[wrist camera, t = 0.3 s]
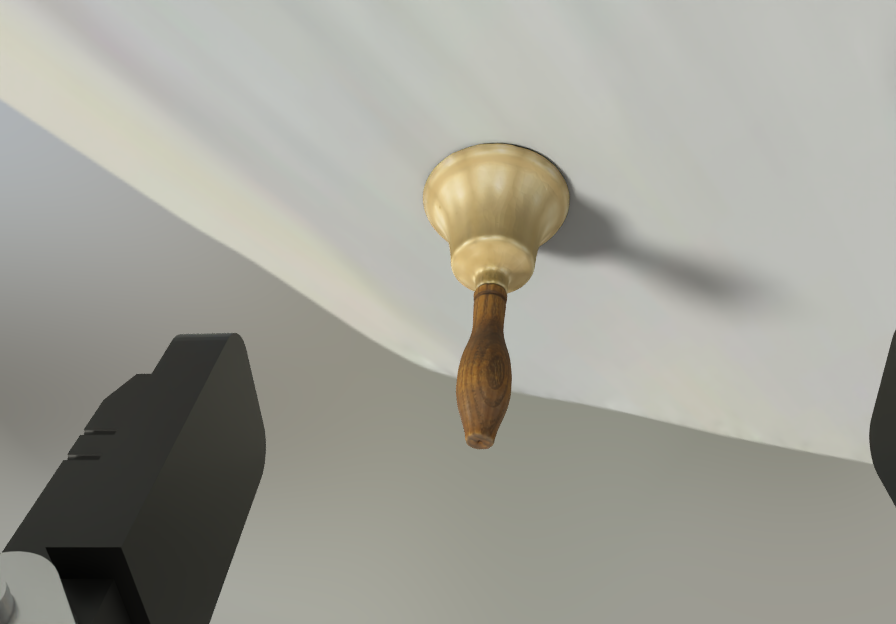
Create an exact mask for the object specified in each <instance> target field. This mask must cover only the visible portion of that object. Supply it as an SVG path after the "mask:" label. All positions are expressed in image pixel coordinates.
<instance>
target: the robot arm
mask: <svg viewBox="0 0 896 624" xmlns="http://www.w3.org/2000/svg"><path fill="white" fill-rule="evenodd" d="M84 431H85V433H84V435H80V436H79V438H78V439H77V441H76V442H75V444H74V445H73V447H72V448H71V450H70V451H69V453H68V460H63V462H62V463H61V465H60V466H59V468H58V469H57V471H56V472H55V474H54V475H53V477H52V478H51V480H50V481H49V483H48V484H47V486H46V487H45V489H44V490H43V492H42V493H41V495H40V496H39V498H38V499H37V501H36V502H35V504H34V505H33V507H32V508H31V510H30V511H29V513H28V514H27V516H26V517H25V519H24V520H23V522H22V523H21V525H20V526H19V528H18V529H17V531H16V532H15V534H14V535H13V537H12V538H11V540H10V541H9V543H8V544H7V546H6V547H5V549H4V550H3V551H2V553H0V624H209V623H210V620H211V617H212V614H213V611H214V609H215V606H216V603H217V600H218V597H219V595H220V592H221V589H222V586H223V583H224V581H225V578H226V575H227V572H228V570H229V567H230V564H231V561H232V558H233V556H234V553H235V550H236V547H237V544H238V542H239V539H240V536H241V533H242V530H243V528H244V525H245V522H246V519H247V516H248V514H249V511H250V508H251V505H252V502H253V500H254V497H255V494H256V491H257V488H258V486H259V483H260V480H261V477H262V474H263V469H264V464H265V454H266V439H265V430H264V425H263V420H262V416H261V412H260V407H259V403H258V399H257V394H256V390H255V385H254V381H253V377H252V372H251V368H250V364H249V359H248V355H247V351H246V347H245V344H244V341H243V339H242V338H241V336H240V335H239V334H237V333H222V334H221V333H217V334H180V335H177V336H176V337H175V338H174V339H173V340H172V342H171V343H170V345H169V347H168V348H167V350H166V351H165V353H164V355H163V356H162V358H161V360H160V361H159V363H158V364H157V366H156V368H155V369H154V371H153V373H152V374H136V375H135V376H134V377H132V378H131V379H130V380H129V381H127V382H126V383H125V384H123V385H122V386H121V387H120V388H118V389H117V390H116V391H115V392H113V393H112V394H111V395H109V396H108V397H107V398H106V399H104V400H103V402H102V403H101V405H100V406H99V408H98V409H97V411H96V412H95V414H94V415H93V417H92V418H91V420H90V421H89V423H88V424H87V426H86V427H85V429H84ZM869 440H870V451H871V456H872V460H873V464H874V467H875V470H876V472H877V474H878V476H879V478H880V479H881V481H882V483H883V485H884V486H885V488H886V490H887V492H888V494H889V496H890V497H891V499H892V501H893V503H894V505H895V506H896V330H895V332H894V335H893V338H892V342H891V345H890V349H889V353H888V357H887V361H886V365H885V368H884V372H883V376H882V380H881V384H880V388H879V391H878V395H877V399H876V403H875V407H874V411H873V414H872V418H871V423H870V432H869Z"/></svg>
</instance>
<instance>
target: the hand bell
mask: <svg viewBox="0 0 896 624" xmlns="http://www.w3.org/2000/svg"><path fill="white" fill-rule="evenodd" d="M569 198H570V197H569V191H568V187H567V185H566V182H565V180H564V178H563V176H562V175H561V173H560V172H559V170H558V169H557V168H556V167H555V166H554V165H553V164H552V163H551V162H549V161H548V160H547V159H546V158H544V157H543V156H541V155H539V154H537V153H535V152H533V151H531V150H528V149H525V148H522V147H517V146H514V145H509V144H498V143H496V144H479V145H475V146H471V147H468V148H465V149H462V150H460V151H457V152H455V153H453V154H451V155H449V156H448V157H447V158H445V159H444V160H443V161H442V162H440V163H439V164H438V165H437V166H436V167H435V168H434V169H433V171H432V172H431V174H430V175H429V177H428V179H427V181H426V184H425V187H424V191H423V204H424V209H425V212H426V215H427V217H428V219H429V221H430V223H431V225H432V226H433V227H434V229H435V230H436V231H437V233H438V234H439V235H440V236H441V237H442V238H444V239H445V240H446V241H447V242H449V246H450V253H451V267H452V271H453V273H454V275H455V277H456V278H457V280H458V281H459V282H460V283H461V284H463V285H464V286H465V287H467V288H468V289H470V290H473V291H475V292H474V312H473V329H472V333H471V337H470V339H469V341H468V343H467V345H466V347H465V350H464V352H463V355H462V358H461V361H460V365H459V369H458V376H457V385H456V396H457V405H458V410H459V413H460V417H461V420H462V423H463V427H464V432H465V440H466V443H467V444H468V445H469V446H470V447H472V448H476V449H488V448H490V447H491V446H492V445H493V444H494V440H495V437H496V434H497V431H498V428H499V426H500V424H501V422H502V420H503V418H504V416H505V413H506V411H507V408H508V405H509V400H510V395H511V383H512V374H511V363H510V357H509V353H508V350H507V347H506V344H505V340H504V333H503V328H504V318H505V310H506V302H507V293H510V292H513V291H515V290H517V289H519V288H521V287H522V286H523V285H524V284H526V283H527V282H528V280H529V279H530V277H531V276H532V274H533V272H534V268H535V261H536V256H537V251H538V248H539V246H541V245H542V244H544V243H545V242H547V241H548V240H549V239H550V238H551V237H552V236H553V235H554V234H555V233H556V232H557V231H558V230H559V228H560V227H561V225H562V224H563V222H564V220H565V218H566V216H567V213H568V209H569Z"/></svg>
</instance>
